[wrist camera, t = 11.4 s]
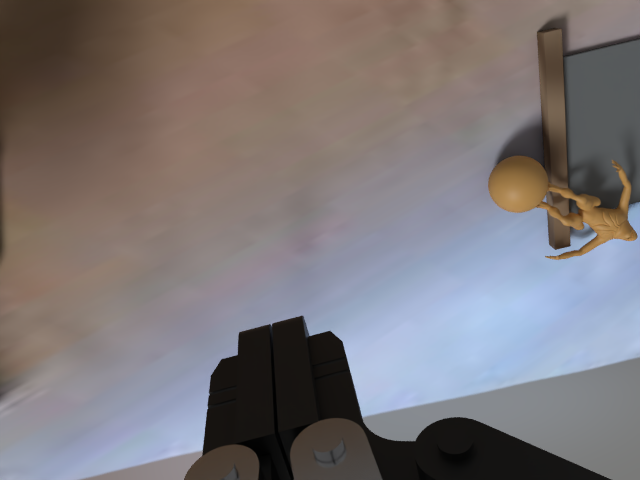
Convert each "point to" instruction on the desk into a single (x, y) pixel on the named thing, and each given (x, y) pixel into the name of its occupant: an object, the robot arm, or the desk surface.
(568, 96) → the mat
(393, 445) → the robot arm
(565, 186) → the bar
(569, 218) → the figurine
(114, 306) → the desk surface
